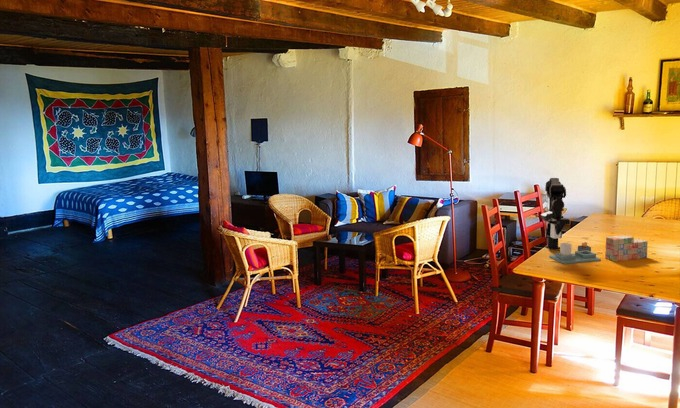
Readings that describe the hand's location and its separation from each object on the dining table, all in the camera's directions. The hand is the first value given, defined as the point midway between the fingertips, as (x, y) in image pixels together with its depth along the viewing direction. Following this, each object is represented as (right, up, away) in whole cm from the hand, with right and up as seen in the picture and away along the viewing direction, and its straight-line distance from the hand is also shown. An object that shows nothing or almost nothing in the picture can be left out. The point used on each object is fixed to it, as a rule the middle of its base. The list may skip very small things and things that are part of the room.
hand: (555, 234), depth 303 cm
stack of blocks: (+35, -13, -9) cm, 38 cm away
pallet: (+7, -13, -8) cm, 17 cm away
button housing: (+19, -10, +6) cm, 23 cm away
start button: (+19, -8, +6) cm, 21 cm away
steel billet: (0, -2, 0) cm, 2 cm away
